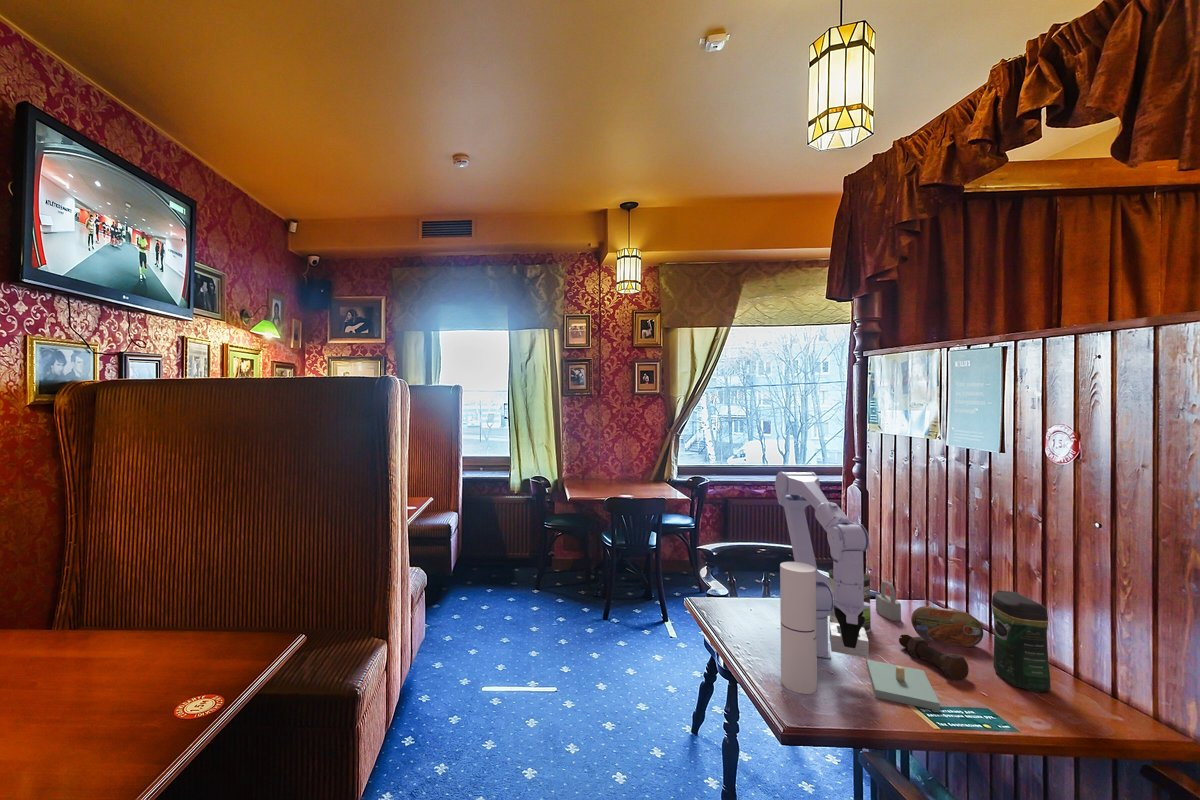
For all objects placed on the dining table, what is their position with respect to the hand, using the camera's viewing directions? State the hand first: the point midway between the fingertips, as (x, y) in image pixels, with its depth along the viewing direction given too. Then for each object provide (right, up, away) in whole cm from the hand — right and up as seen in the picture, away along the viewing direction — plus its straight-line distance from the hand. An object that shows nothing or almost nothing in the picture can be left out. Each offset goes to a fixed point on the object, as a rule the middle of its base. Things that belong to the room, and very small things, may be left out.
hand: (849, 644), depth 98 cm
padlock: (+31, -11, +36) cm, 49 cm away
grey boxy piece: (+1, -2, +2) cm, 3 cm away
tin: (+36, -11, +20) cm, 43 cm away
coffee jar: (+40, -10, +3) cm, 41 cm away
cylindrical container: (-11, -9, +1) cm, 14 cm away
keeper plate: (+11, -9, 0) cm, 14 cm away
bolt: (+25, -10, +10) cm, 29 cm away
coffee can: (+16, -11, +29) cm, 35 cm away
